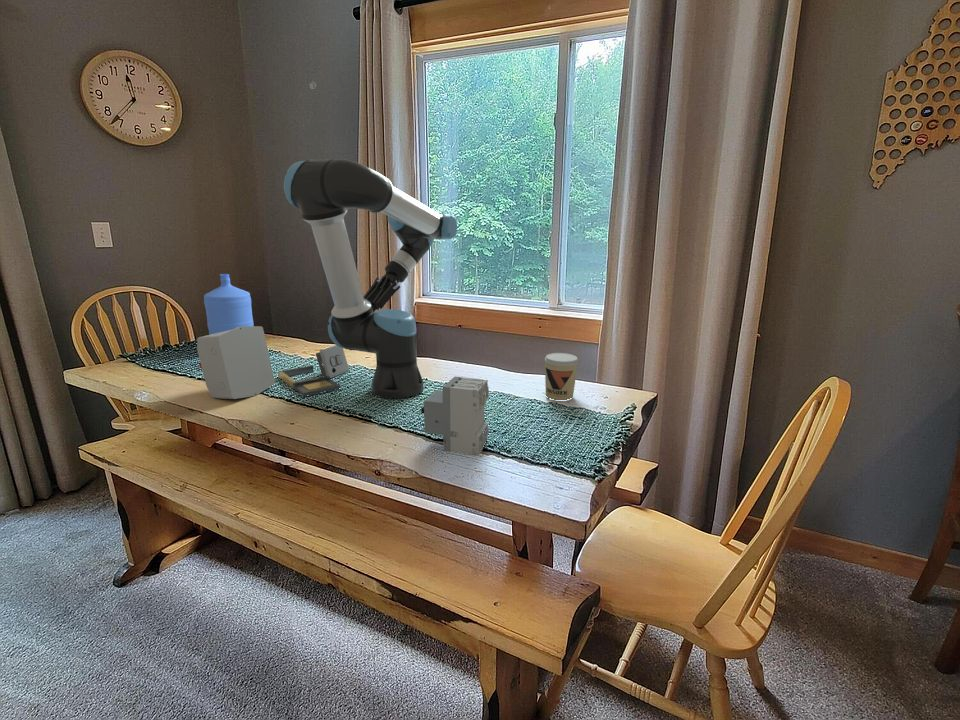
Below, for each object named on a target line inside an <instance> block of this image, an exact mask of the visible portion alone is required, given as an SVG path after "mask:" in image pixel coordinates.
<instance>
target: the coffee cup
mask: <svg viewBox="0 0 960 720" xmlns="http://www.w3.org/2000/svg"><path fill="white" fill-rule="evenodd" d="M578 363H579V359H578V357H577V356H576V355H574V354H571V353H565V352H552V353H548V354H546V356H545V357H544V366H545V367H544V371H545V373H544V374H545V377H544V378H545V380H544V381H545V397H546V396H547V397H548V398H551V399H554V400H567V399H570V398H572V397H573V398H574V394H575V393H574V392H575V385H576V377H577V373H578V372H577V370H578ZM547 397H546V398H547ZM548 398H547V399H548ZM573 398H572V399H573Z"/></svg>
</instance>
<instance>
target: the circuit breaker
mask: <svg viewBox="0 0 960 720" xmlns="http://www.w3.org/2000/svg"><path fill="white" fill-rule="evenodd" d="M488 381H489V380H488V379H482V378H475V377H474V378H473V377H467V376H465V377H464V376H453V378H451V379H450V380H449V381H448V382H446V383H445V384H444V385H443V386H442V389H436V390H434V392H433V393H431V394H430V395H429V396H428V397H427V398H426V399H425V400H424V401H423V407H421V409H420V410H421V412H420V414H422V415H423V416H424V417H423V420H424V421H423V422H424V423H423V425H424V428H423V429H424V433H425V434H426V433H428V434H434V435H439V436H440V435H441V436H442V437H443V438H442V440H443V442H442V444H443V445H442V446H443V447H442V449H443V451H446V452H451V453H452V452H453V453H459V454H464V455H465V454H466V455H472V456H473V455H476V456H479V455H480V454H481V453H482V451H483V449H484V448H483V445H484V442H486V440H488V437H489V423H488V422H486V421H485V405H486V404H487V400H488V399H489V397H490V396H489V395H490V394H489V391H490V390H489V386H488Z"/></svg>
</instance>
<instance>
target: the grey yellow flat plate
mask: <svg viewBox="0 0 960 720" xmlns="http://www.w3.org/2000/svg"><path fill="white" fill-rule="evenodd" d="M312 371H314V365H311V364H309V365H307V366H301V367H295V368H288V369H283V370H279V371H277V375H278V378H279V379H280V380H281V379H282V380H281V381H282V382H284V383H285V382H286V383H285V384H287V385H288V386H289V385H290V386H291V387H290V386H289V387H290V388H292V389H293V388H294V389H295V390H294V389H293V390H294V391H296V392H297V391H298V392H299V393H300V395H301V394H302V395H303V396H306V397H308V396H307V395H311V396H313V395H312V394H316V393H320V392H324V391H329V392H331V391H330V390H334V391H336V390H335V389H339V388H342V387H341V384H339V383H338V382H336V381H335V380H333V379H332V378H330V376H324V377H322V376H320V377H315V378H309V379H304V380H298V381H296V380H294V379H293V378H292V376H291V375H294V376H298V375H297V374H299V375H303V374H302V373H304V374H309V373H308V372H310V373H313V372H312ZM314 372H315V371H314ZM339 390H340V389H339ZM298 392H297V393H298ZM299 393H298V394H299ZM320 394H321V393H320ZM302 395H301V396H302ZM316 395H317V394H316ZM303 396H302V397H303Z"/></svg>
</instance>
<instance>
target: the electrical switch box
mask: <svg viewBox="0 0 960 720" xmlns="http://www.w3.org/2000/svg"><path fill="white" fill-rule="evenodd" d="M196 346H197V350H196V351H197V353H198V354H197V355H198V360H199V361H200V363H199V367H200V368H199V369H201V370H202V373H203V374H202V375H203V379H204V382H205V386H206V389H207V390H208V393H209V395H210V396H211V398H212V399H223V400H224V399H229V400H237V399H243V398H244V399H245V398H250V397H255V396H258V395H259V394H261V393H262V392H264V391H266V390H268V389H269V388H270V387H272V386H274V385H275V383H276V380H275V376H274V373H273V368H272V363H271V358H270V354H269V349H268V345H267V340H266V335H265V331H264V327H263V326H262V325H261V326H259V325H258V326H257V325H256V326H255V325H254V326H245V327H237V328H235V329H233V330H228V331H224V332H220V333H215V334H211V335H209V334H208V335H204V336H199V337H197V339H196Z"/></svg>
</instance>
